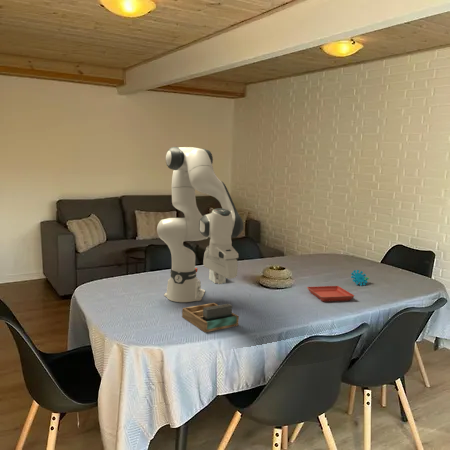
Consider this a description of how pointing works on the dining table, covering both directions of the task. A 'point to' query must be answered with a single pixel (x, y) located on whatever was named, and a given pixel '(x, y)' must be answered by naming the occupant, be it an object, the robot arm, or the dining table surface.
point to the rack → (196, 318)
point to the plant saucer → (330, 293)
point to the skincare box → (212, 278)
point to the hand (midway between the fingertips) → (218, 283)
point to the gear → (359, 277)
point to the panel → (217, 312)
